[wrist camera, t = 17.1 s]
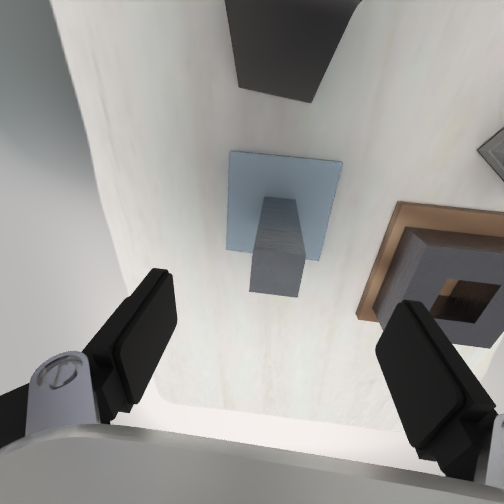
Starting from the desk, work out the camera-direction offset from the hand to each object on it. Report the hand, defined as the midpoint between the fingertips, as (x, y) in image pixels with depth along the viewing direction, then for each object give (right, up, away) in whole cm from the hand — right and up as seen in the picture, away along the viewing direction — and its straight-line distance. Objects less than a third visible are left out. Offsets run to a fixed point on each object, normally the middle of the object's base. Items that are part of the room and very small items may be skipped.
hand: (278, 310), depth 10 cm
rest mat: (+2, +7, +14) cm, 16 cm away
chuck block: (+18, 0, +16) cm, 24 cm away
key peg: (+1, +6, +14) cm, 15 cm away
